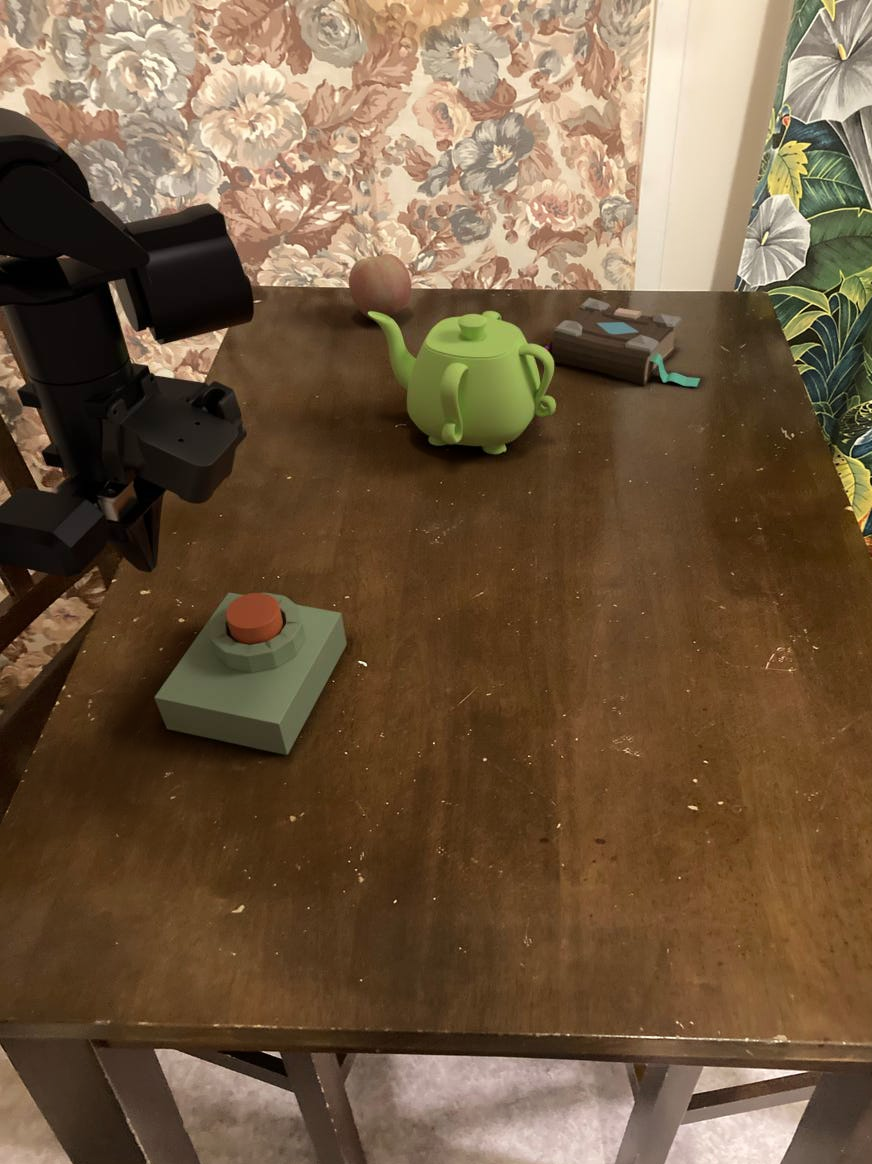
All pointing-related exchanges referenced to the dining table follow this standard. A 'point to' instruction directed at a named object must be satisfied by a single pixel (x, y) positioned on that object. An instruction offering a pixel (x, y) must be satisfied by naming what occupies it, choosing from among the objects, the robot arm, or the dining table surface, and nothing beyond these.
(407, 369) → the teapot
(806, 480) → the dining table surface
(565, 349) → the book
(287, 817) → the dining table surface
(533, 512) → the dining table surface
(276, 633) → the lid button
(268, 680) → the push button box
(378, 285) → the apple
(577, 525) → the dining table surface
